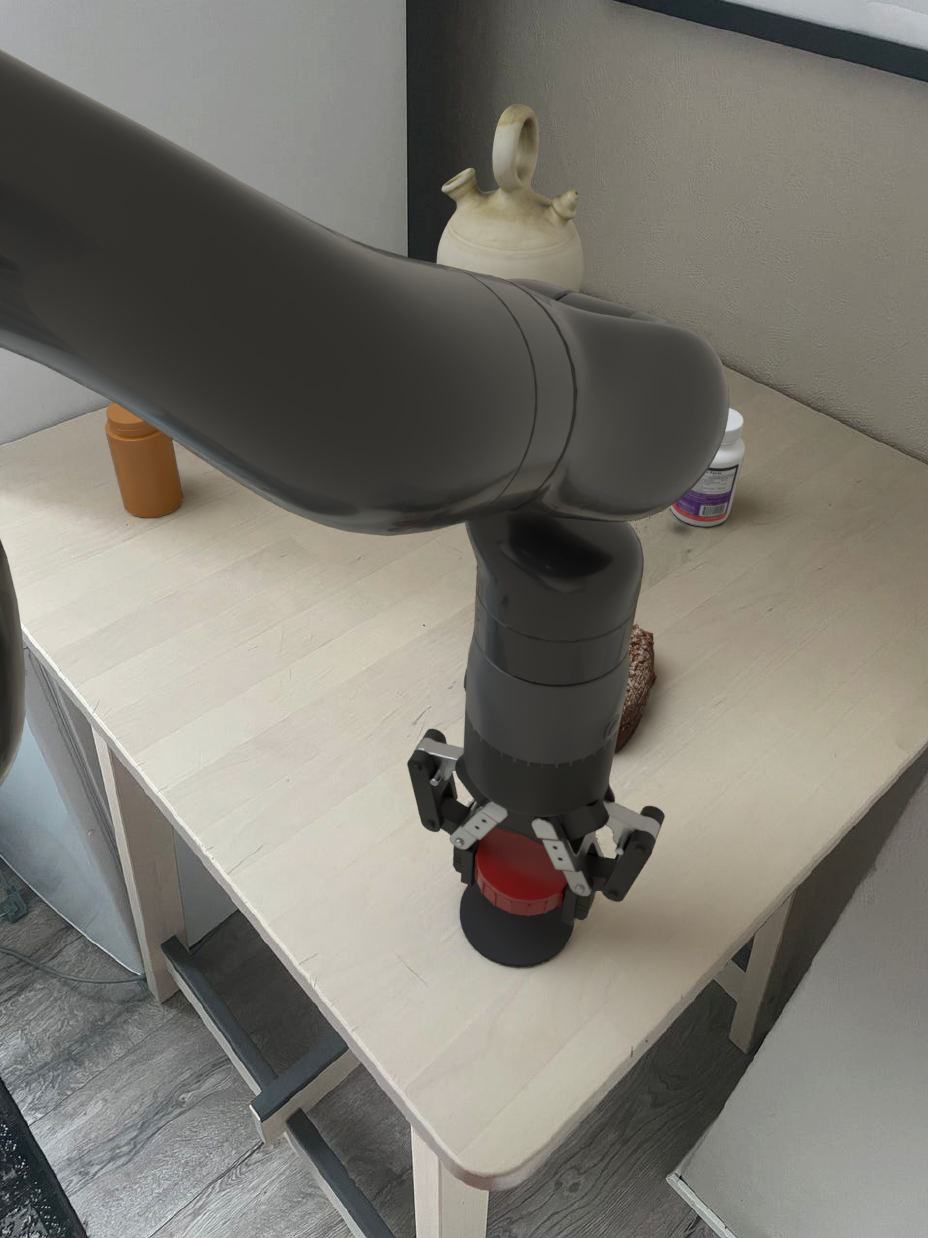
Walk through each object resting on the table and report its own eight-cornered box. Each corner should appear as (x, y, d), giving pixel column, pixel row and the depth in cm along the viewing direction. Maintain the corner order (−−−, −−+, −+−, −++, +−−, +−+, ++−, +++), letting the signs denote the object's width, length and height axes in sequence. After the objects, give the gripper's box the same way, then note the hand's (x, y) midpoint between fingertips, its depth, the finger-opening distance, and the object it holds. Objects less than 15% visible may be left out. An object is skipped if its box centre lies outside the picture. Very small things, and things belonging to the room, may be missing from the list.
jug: (406, 348, 113) (404, 105, 96) (495, 301, 122) (507, 70, 105) (516, 398, 106) (534, 146, 89) (601, 344, 115) (633, 105, 98)
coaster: (550, 986, 59) (551, 983, 59) (440, 940, 61) (440, 937, 61) (589, 889, 64) (590, 886, 64) (486, 849, 66) (486, 846, 66)
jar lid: (502, 815, 62) (503, 799, 61) (590, 856, 60) (593, 840, 59) (456, 888, 58) (456, 872, 57) (548, 934, 56) (551, 918, 55)
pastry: (666, 661, 79) (679, 604, 75) (620, 774, 71) (632, 718, 67) (532, 619, 82) (538, 562, 78) (473, 723, 74) (476, 666, 70)
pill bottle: (682, 485, 96) (702, 393, 89) (737, 504, 94) (761, 412, 87) (659, 515, 92) (678, 422, 86) (716, 535, 90) (739, 442, 84)
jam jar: (175, 519, 90) (156, 427, 83) (116, 516, 90) (92, 424, 83) (189, 484, 94) (172, 393, 87) (132, 481, 94) (111, 390, 87)
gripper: (710, 693, 50) (656, 885, 61) (440, 607, 54) (437, 803, 65) (669, 808, 45) (618, 995, 56) (373, 704, 49) (383, 898, 60)
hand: (521, 891), depth 61 cm, fingers closed on jar lid, 5 cm apart
